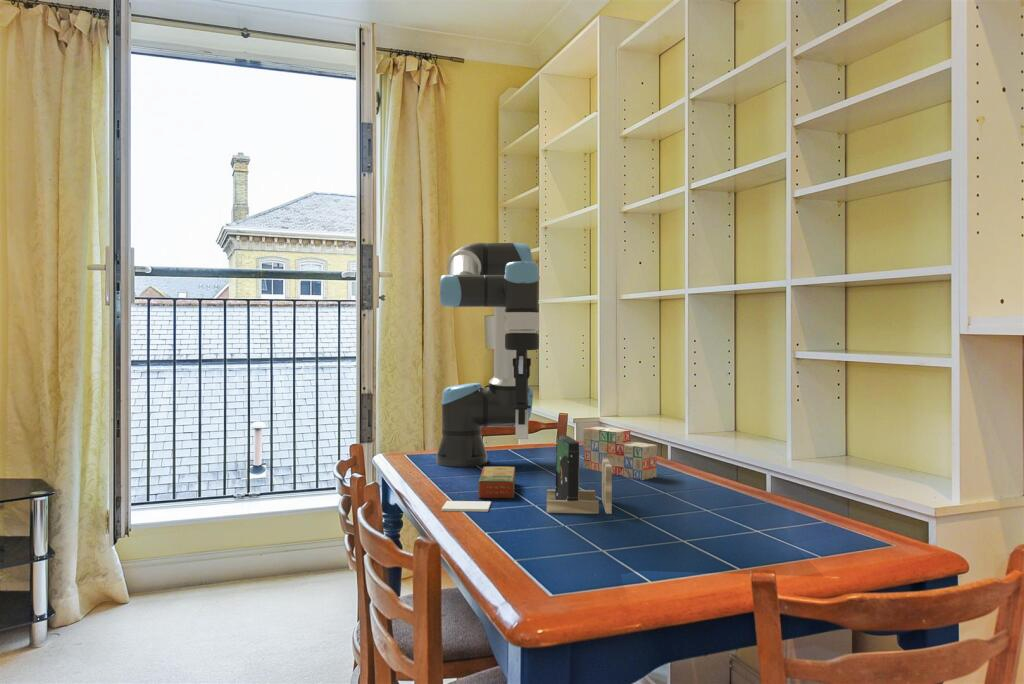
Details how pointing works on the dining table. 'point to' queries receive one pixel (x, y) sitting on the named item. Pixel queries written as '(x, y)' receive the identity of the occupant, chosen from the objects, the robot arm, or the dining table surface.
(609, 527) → the dining table surface
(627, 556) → the dining table surface
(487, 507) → the pad
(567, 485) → the disk drive
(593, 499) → the wooden holder
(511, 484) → the carton
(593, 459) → the stack of blocks
